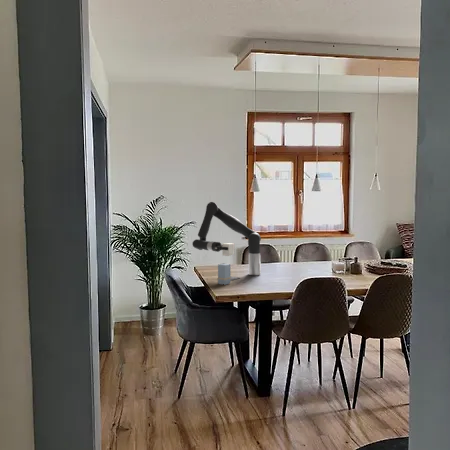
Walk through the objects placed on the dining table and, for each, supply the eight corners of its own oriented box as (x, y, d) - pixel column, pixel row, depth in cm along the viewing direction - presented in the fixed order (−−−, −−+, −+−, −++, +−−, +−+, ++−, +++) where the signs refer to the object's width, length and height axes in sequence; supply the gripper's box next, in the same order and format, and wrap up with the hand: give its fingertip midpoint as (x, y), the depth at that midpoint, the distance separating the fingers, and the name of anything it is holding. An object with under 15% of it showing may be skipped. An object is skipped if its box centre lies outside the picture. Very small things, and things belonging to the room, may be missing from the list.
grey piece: (223, 282, 341) (223, 263, 340) (230, 283, 337) (230, 264, 336) (217, 283, 336) (217, 264, 335) (224, 284, 332) (224, 265, 331)
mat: (227, 276, 363) (227, 275, 363) (239, 278, 355) (239, 277, 355) (217, 278, 353) (217, 278, 353) (229, 280, 346) (229, 280, 346)
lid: (227, 254, 357) (227, 242, 357) (234, 255, 353) (234, 243, 352) (222, 255, 352) (222, 243, 352) (229, 256, 348) (229, 244, 348)
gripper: (208, 242, 356) (224, 244, 345) (220, 240, 367) (236, 242, 356) (208, 252, 356) (224, 254, 346) (220, 250, 367) (236, 252, 357)
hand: (230, 248), depth 351 cm, fingers closed on lid, 6 cm apart
